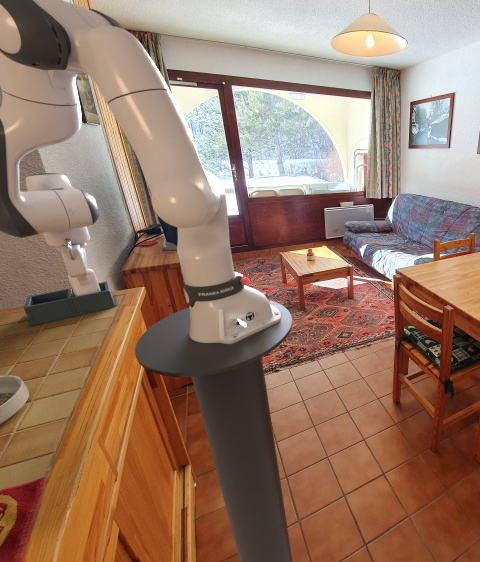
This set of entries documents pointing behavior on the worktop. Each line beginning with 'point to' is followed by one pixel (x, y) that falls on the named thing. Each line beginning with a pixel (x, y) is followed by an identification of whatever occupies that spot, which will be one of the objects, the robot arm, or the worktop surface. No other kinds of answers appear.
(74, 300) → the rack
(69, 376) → the worktop surface
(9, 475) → the worktop surface
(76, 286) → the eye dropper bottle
